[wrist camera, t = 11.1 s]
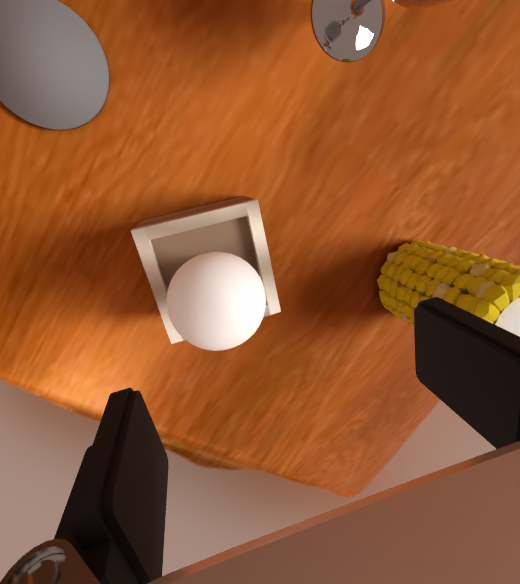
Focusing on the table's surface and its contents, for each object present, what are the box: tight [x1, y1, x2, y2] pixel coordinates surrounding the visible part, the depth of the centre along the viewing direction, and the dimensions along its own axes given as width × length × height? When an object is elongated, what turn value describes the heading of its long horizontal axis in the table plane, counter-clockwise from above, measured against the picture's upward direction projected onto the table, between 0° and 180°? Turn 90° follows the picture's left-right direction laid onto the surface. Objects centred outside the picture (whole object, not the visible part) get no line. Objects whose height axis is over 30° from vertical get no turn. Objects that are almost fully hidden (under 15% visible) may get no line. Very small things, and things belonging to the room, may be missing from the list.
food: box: [377, 240, 520, 337], centre depth 33 cm, size 15×12×10 cm
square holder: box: [131, 196, 281, 344], centre depth 30 cm, size 10×10×7 cm
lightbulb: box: [166, 252, 266, 351], centre depth 23 cm, size 6×6×11 cm
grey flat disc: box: [0, 0, 110, 130], centre depth 26 cm, size 9×9×1 cm
